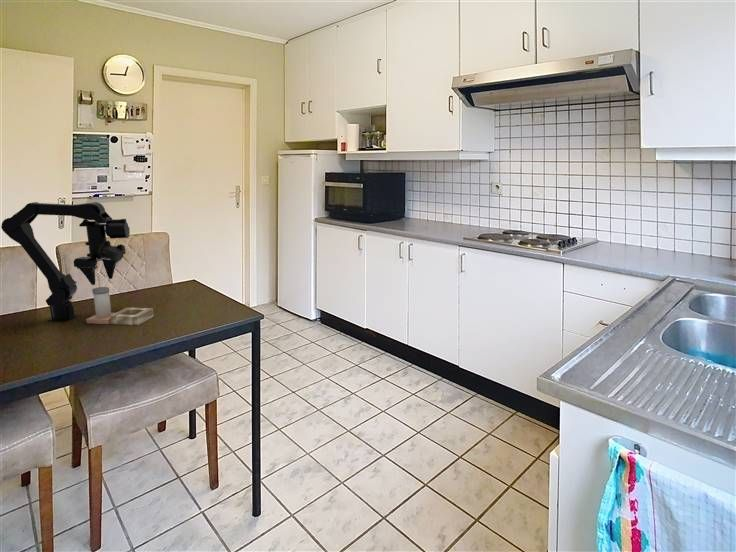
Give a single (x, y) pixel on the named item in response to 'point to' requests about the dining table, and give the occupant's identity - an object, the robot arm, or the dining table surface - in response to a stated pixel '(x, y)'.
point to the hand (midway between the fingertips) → (102, 281)
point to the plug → (102, 302)
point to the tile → (99, 320)
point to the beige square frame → (132, 316)
